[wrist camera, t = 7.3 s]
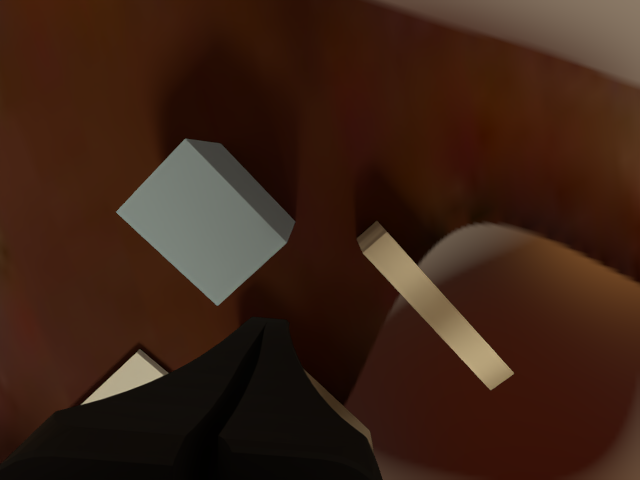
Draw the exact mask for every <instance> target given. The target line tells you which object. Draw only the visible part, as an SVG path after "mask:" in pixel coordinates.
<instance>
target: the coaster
mask: <svg viewBox="0 0 640 480" xmlns="http://www.w3.org/2000/svg"><path fill="white" fill-rule="evenodd" d="M166 374H168V372H167V371H165V370H164V369H163V368H162V367H161V366H160V365H158V364H157V363H156V362H155V361H154V360H152V359H151V358H150V357H149V356H148V355H146V354H145V353H144V352H143V351H142V350H140V349H139V350H138V351H137V352H136V353H135V354H134V355H133V356H132V357H131V358H130V359H129V360H128V361H127V362H126V363H125V364H124V365H122V366H121V367H120V368H119V369H118V370H117V371H116V372H115V373H114V374H113V375H112V376H111V377H110V378H109V379H108V380H107V381H105V382H104V383H103V384H102V385H101V386H100V387H99V388H98V389H97V390H96V391H95V392H94V393H93V394H92V395H91V396H90V397H88V398H87V399H86V400H85V401H84V402H83V403H82V404H86V403H90V402H93V401H97V400H101V399H104V398H107V397H110V396H113V395H116V394H119V393H122V392H125V391H128V390H131V389H133V388H136V387H139V386H141V385H144V384H146V383H149V382H151V381H153V380H155V379H157V378H160V377H162V376H164V375H166ZM82 404H81V405H82Z"/></svg>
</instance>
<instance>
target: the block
mask: <svg viewBox="0 0 640 480" xmlns="http://www.w3.org/2000/svg"><path fill="white" fill-rule="evenodd" d="M116 213H117V214H119V215H120V216H121V217H122V218H123V219H124V220H125V221H126V222H127V223H128V224H129V225H130V226H132V227H133V228H134V229H135V230H136V231H137V232H138V233H139V234H140V235H141V236H142V237H143V238H144V239H146V240H147V241H148V242H149V243H150V244H151V245H152V246H153V247H154V248H155V249H156V250H157V251H159V252H160V253H161V254H162V255H163V256H164V257H165V258H166V259H167V260H168V261H169V262H170V263H172V264H173V265H174V266H175V267H176V268H177V269H178V270H179V271H180V272H181V273H182V274H183V275H184V276H186V277H187V278H188V279H189V280H190V281H191V282H192V283H193V284H194V285H195V286H196V287H197V288H199V289H200V290H201V291H202V292H203V293H204V294H205V295H206V296H207V297H208V298H209V299H210V300H211V301H213V302H214V303H215V304H216V305H217V306H218V305H219V304H220V303H221V302H222V301H223V300H225V299H226V298H227V297H228V296H229V295H230V294H231V293H232V292H233V291H234V290H236V289H237V288H238V287H239V286H240V285H241V284H242V283H243V282H244V281H245V280H247V279H248V278H249V277H250V276H251V275H252V274H253V273H254V272H255V271H256V270H258V269H259V268H260V267H261V266H262V265H263V264H264V263H265V262H266V261H267V260H269V259H270V258H271V257H272V256H273V255H274V254H275V253H276V252H277V251H278V250H280V249H281V248H282V247H283V246H284V245H285V244H286V243H287V241H288V239H289V236H290V234H291V231H292V229H293V226H294V224H295V221H294V220H293V219H292V218H291V217H290V216H289V215H288V213H287V212H286V211H285V210H284V209H283V208H282V207H281V206H280V205H279V204H278V203H277V202H276V201H275V200H274V199H273V198H272V197H271V196H270V195H269V194H268V192H267V191H266V190H265V189H264V188H263V187H262V186H261V185H260V184H259V183H258V182H257V181H256V180H255V179H254V178H253V177H252V176H251V175H250V174H249V173H248V172H247V170H246V169H245V168H244V167H243V166H242V165H241V164H240V163H239V162H238V161H237V160H236V159H235V158H234V157H233V156H232V155H231V154H230V153H229V152H228V151H227V149H226V148H225V147H224V146H223V145H222V144H221V143H214V142H206V141H199V140H192V139H184V140H183V141H182V143H181V144H180V145H179V146H178V147H177V148H176V149H175V150H174V151H173V152H172V153H171V154H170V155H169V156H168V157H167V158H166V160H165V161H164V162H163V163H162V164H161V165H160V166H159V167H158V168H157V169H156V170H155V171H154V172H153V173H152V174H151V175H150V177H149V178H148V179H147V180H146V181H145V182H144V183H143V184H142V185H141V186H140V187H139V188H138V189H137V190H136V191H135V192H134V193H133V195H132V196H131V197H130V198H129V199H128V200H127V201H126V202H125V203H124V204H123V205H122V206H121V207H120V208H119V209H118V210H117V212H116Z"/></svg>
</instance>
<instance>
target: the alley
mask: <svg viewBox="0 0 640 480" xmlns="http://www.w3.org/2000/svg"><path fill="white" fill-rule="evenodd" d="M357 241H358V244H359V246H360V248H361V250H362V253H363V254H364V255H365V256H366V257H367V258H368V259H369V260H370V261H371V262H372V264H373V265H374V266H375V267H376V268H377V269H378V270H379V271H380V272H381V273H382V274H383V275H384V276H385V277H386V279H387V280H388V281H389V282H390V283H391V284H392V285H393V286H394V287H395V288H396V289H397V290H398V291H399V293H400V294H401V295H402V296H403V297H404V298H405V299H406V300H407V301H408V302H409V303H410V304H411V305H412V306H413V307H414V309H416V311H417V312H418V313H419V314H420V315H421V316H422V317H423V318H424V319H425V320H426V321H427V322H428V324H429V325H430V326H431V327H432V328H433V329H434V330H435V331H436V332H437V333H438V334H439V335H440V336H441V338H442V339H443V340H444V341H445V342H446V343H447V344H448V345H449V346H450V347H451V348H452V349H453V350H454V352H455V353H456V354H457V355H458V356H459V357H460V358H461V359H462V360H463V361H464V362H465V363H466V364H467V365H468V367H470V369H471V370H472V371H473V372H474V373H475V374H476V375H477V376H478V377H479V378H480V379H481V380H482V382H483V383H484V384H485V385H486V386H487V387H488V388H489V389H490V390H492V389H493V388H495V387H496V386H497V385H499V384H500V383H501V382H503V381H504V380H506V379H507V378H509V377H510V376H511V375H513V374H514V373H513V372H512V371H511V369H510V368H509V367H508V366H507V365H506V364H505V363H504V362H503V361H502V359H501V358H500V357H499V356H498V355H497V354H496V353H495V352H494V350H493V349H492V348H491V347H490V346H489V345H488V344H487V343H486V342H485V340H484V339H483V338H482V337H481V336H480V335H479V334H478V333H477V331H476V330H475V329H474V328H473V327H472V326H471V325H470V324H469V323H468V321H467V320H466V319H465V318H464V317H463V316H462V315H461V314H460V313H459V311H458V310H457V309H456V308H455V307H454V306H453V305H452V304H451V303H450V301H449V300H448V299H447V298H446V297H445V296H444V295H443V294H442V293H441V292H440V290H439V289H438V288H437V287H436V286H435V285H434V284H433V283H432V281H431V280H430V279H429V278H428V277H427V276H426V275H425V274H424V272H423V271H422V270H421V269H420V268H419V267H418V266H417V265H416V264H415V262H414V261H413V260H412V259H411V258H410V257H409V256H408V255H407V254H406V252H405V251H404V250H403V249H402V248H401V247H400V246H399V245H398V244H397V242H396V241H395V240H394V239H393V238H392V237H391V236H390V235H389V234H388V232H387V231H386V230H385V229H384V228H383V227H382V226H381V225H380V224H379V222H378V221H376V222H375V223H374V224H373V225H371V226H370V227H369V228H368V229H367V230H366V231H365V232H363V233H362V234H361V235H360V236H359V237H358V238H357ZM304 371H305V370H304ZM305 373H306V374H307V376H308V378H309V379H310V381H311V382H312V384H313V385H314V387H315V388H316V389H317V391H318V392H319V394H320V395H321V396H322V397H323V398H324V399H325V401H326V402H327V403H328V404H329V405H330V406H331V408H332V409H333V410H334V411H336V412H337V413H338V414H339V415H340V416H341V417H342V418H343V419H344V420H345V421H347V422H348V423H349V424H350V425H352V426H353V427H354V428H356V429H357V430H358V431H359V432H361V433H362V434H363V435H365V436H366V437H367V439H368V441H369V444H370V446H371V448H372V451H373V445H372V439H371V434H370V430H368V429H367V428H366V427H365V426H364V425H363V424H362V423H361V422H360V421H359V420H358V419H357V418H356V417H355V416H354V415H352V414H351V413H350V412H349V411H348V410H347V409H346V408H345V407H344V406H343V405H342V404H341V403H340V402H339V401H337V400H336V399H335V398H334V397H333V396H332V395H331V394H330V393H329V392H328V391H327V390H326V389H325V388H324V387H322V386H321V385H320V384H319V383H318V382H317V381H316V380H315V379H314V378H313V377H312V376H311V375H310V374H308V373H307V372H306V371H305ZM373 453H374V451H373Z"/></svg>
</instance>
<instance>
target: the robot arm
mask: <svg viewBox="0 0 640 480" xmlns="http://www.w3.org/2000/svg"><path fill="white" fill-rule="evenodd" d="M0 480H383V479H382V476H381V473H380V470H379V467H378V464H377V461H376V459H375V456H374V453H373V451H372V448H371V446H370V444H369V441H368V439H367V437H366V436H365V435H363V434H362V433H361V432H359V431H358V430H357V429H356V428H354V427H353V426H352V425H350V424H349V423H348V422H347V421H345V420H344V419H343V418H342V417H341V416H340V415H339V414H338V413H337V412H336V411H334V410H333V409H332V408H331V406H330V405H329V404H328V403H327V402H326V401H325V399H324V398H323V397H322V396H321V395H320V394H319V392H318V391H317V389H316V388H315V387H314V385H313V384H312V382H311V381H310V379H309V378H308V376H307V374H306V373H305V371H304V369H303V367H302V365H301V363H300V361H299V359H298V357H297V354H296V352H295V349H294V346H293V343H292V340H291V336H290V332H289V322H288V321H287V320H283V319H272V318H260V317H251V318H250V319H249V320H248V321H246V322H245V323H244V324H243V325H241V326H240V327H239V328H238V329H237V330H235V331H234V332H233V333H232V334H231V335H229V336H228V337H227V338H225V339H224V340H223V341H222V342H220V343H219V344H218V345H216V346H215V347H213V348H212V349H210V350H209V351H207V352H206V353H205V354H203V355H201V356H200V357H198V358H197V359H195V360H193V361H192V362H190V363H188V364H186V365H184V366H182V367H181V368H179V369H177V370H175V371H173V372H171V373H168V374H166V375H164V376H162V377H160V378H157V379H155V380H153V381H151V382H149V383H146V384H144V385H141V386H139V387H136V388H133V389H131V390H128V391H125V392H122V393H119V394H116V395H113V396H110V397H107V398H104V399H101V400H97V401H93V402H90V403H86V404H82V405H79V406H75V407H71V408H68V409H64V410H60V411H56V412H55V413H54V414H53V415H51V416H50V417H49V418H48V419H47V420H46V421H45V422H44V423H43V424H42V425H41V426H40V427H39V428H38V429H37V430H36V431H34V432H33V433H32V434H31V435H30V436H29V437H28V438H27V439H26V440H25V441H24V442H23V443H22V444H21V445H20V446H19V447H18V448H17V449H16V450H15V451H14V452H13V453H12V454H11V455H10V456H9V457H8V458H7V459H6V460H4V461H3V462H2V463H1V464H0Z"/></svg>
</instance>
